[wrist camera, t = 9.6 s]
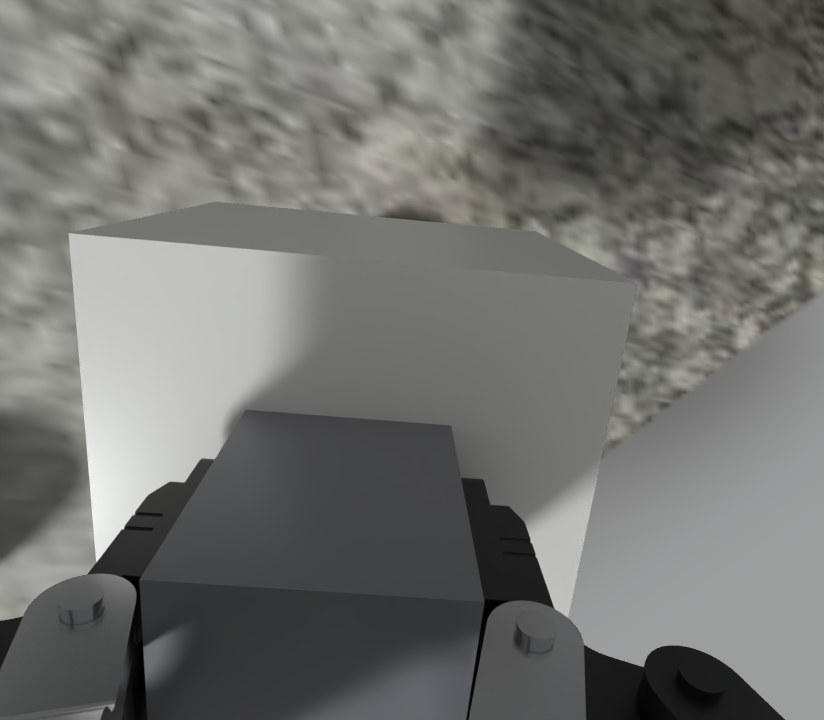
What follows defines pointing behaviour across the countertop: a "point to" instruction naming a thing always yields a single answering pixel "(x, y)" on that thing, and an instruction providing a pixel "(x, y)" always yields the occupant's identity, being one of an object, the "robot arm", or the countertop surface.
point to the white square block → (336, 442)
